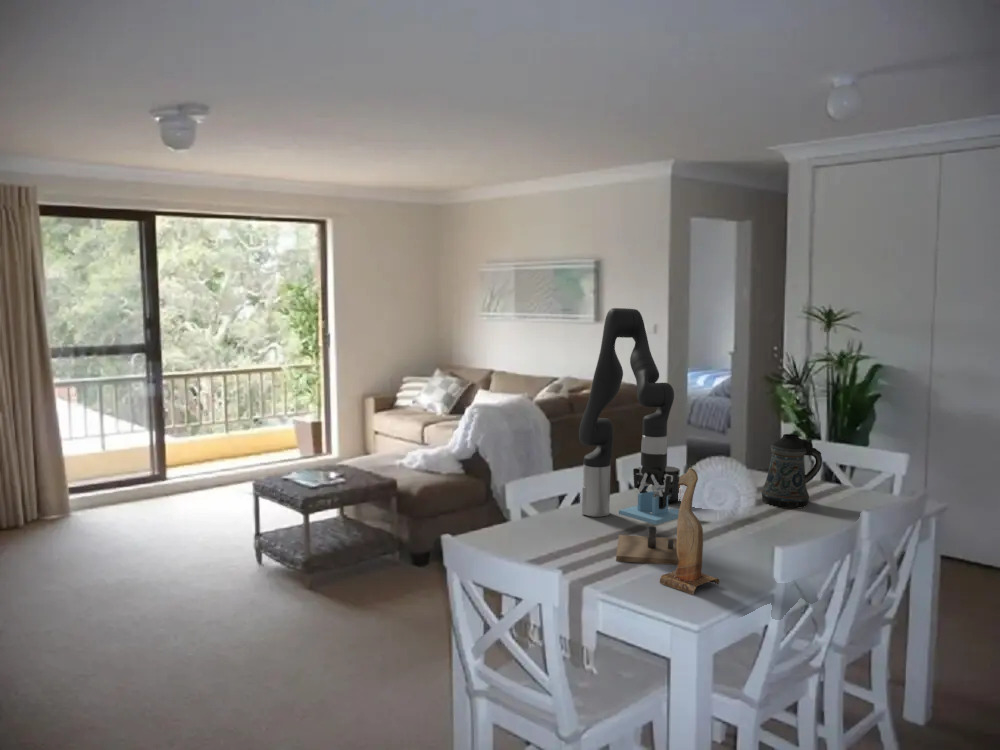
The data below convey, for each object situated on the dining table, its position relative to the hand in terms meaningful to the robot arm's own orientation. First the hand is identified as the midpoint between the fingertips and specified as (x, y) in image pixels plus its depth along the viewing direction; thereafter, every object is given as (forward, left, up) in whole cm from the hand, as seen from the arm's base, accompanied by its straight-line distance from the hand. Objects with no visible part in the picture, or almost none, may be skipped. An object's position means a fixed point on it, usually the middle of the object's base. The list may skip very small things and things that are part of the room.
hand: (652, 506), depth 244 cm
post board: (0, 0, -14) cm, 14 cm away
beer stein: (+49, +67, -14) cm, 84 cm away
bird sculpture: (+10, -25, -14) cm, 31 cm away
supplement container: (+5, +60, -14) cm, 62 cm away
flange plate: (0, 0, -3) cm, 3 cm away
